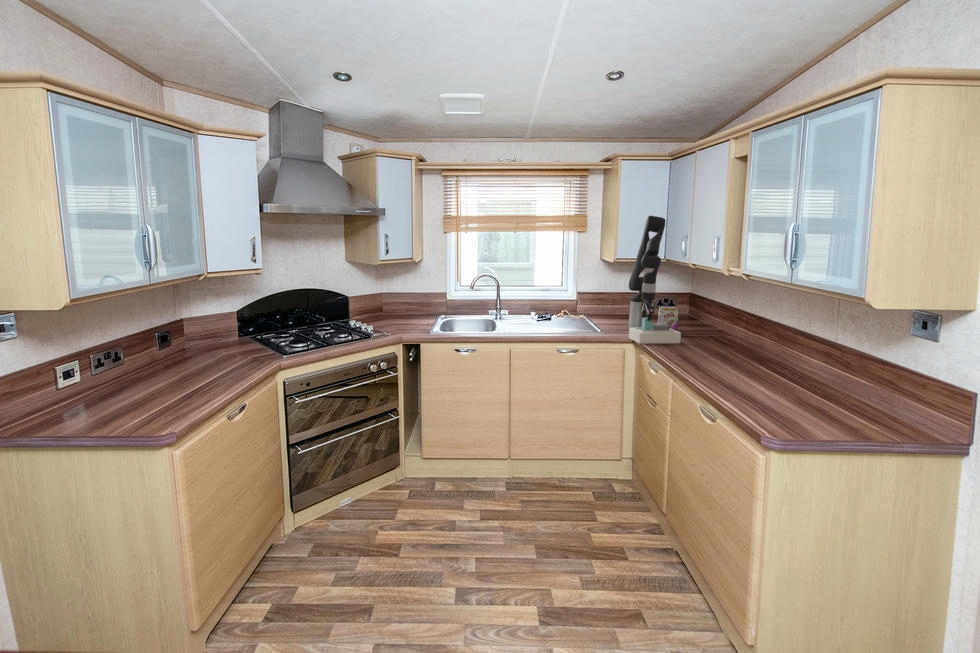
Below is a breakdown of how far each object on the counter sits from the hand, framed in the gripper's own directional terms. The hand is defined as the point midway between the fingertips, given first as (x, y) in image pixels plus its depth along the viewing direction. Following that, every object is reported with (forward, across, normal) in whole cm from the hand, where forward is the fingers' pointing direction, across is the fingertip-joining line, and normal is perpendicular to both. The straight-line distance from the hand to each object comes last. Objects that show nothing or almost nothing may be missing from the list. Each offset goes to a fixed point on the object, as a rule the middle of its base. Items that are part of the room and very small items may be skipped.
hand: (646, 319), depth 297 cm
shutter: (+6, 0, -8) cm, 10 cm away
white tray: (+12, 0, -5) cm, 13 cm away
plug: (+9, 0, 0) cm, 9 cm away
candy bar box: (+13, +20, -22) cm, 32 cm away
